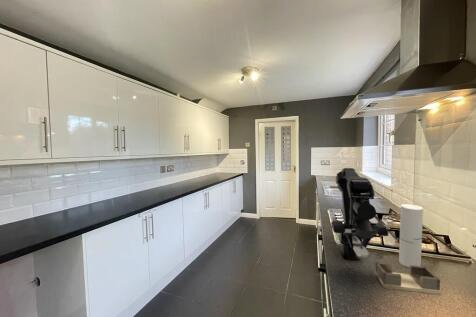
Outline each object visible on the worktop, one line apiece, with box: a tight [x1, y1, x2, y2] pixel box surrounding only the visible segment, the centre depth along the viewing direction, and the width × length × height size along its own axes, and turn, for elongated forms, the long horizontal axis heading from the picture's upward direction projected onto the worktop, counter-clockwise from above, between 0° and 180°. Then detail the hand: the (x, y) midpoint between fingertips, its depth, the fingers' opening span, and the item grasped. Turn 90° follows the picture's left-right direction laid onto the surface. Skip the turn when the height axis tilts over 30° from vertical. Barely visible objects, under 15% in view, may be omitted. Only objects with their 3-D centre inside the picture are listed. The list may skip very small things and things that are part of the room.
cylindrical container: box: [398, 203, 424, 268], centre depth 87 cm, size 7×7×25 cm
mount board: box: [374, 270, 442, 295], centre depth 76 cm, size 8×17×1 cm, turn 77°
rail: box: [352, 235, 371, 261], centre depth 81 cm, size 12×4×4 cm, turn 167°
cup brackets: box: [375, 261, 441, 291], centre depth 76 cm, size 8×17×4 cm, turn 77°
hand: (357, 249), depth 81 cm, fingers closed on rail, 4 cm apart
